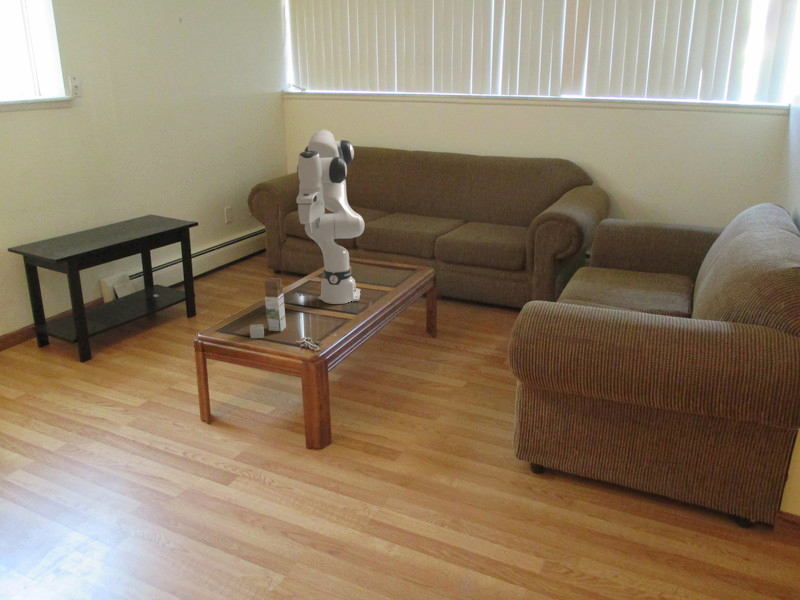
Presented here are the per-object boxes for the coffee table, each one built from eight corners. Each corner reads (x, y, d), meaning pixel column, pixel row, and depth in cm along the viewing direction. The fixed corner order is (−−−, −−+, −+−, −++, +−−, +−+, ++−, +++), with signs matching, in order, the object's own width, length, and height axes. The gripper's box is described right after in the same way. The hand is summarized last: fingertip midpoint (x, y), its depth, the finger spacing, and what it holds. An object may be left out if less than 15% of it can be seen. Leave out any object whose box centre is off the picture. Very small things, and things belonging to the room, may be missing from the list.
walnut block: (270, 292, 270) (269, 277, 269) (282, 292, 269) (281, 278, 268) (265, 296, 266) (264, 281, 264) (278, 296, 265) (276, 281, 263)
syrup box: (286, 327, 274) (283, 292, 270) (280, 332, 269) (278, 297, 264) (273, 326, 275) (270, 292, 271) (267, 331, 270) (264, 296, 265)
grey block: (251, 334, 268) (250, 324, 266) (264, 333, 268) (263, 323, 267) (250, 339, 263) (249, 329, 262) (263, 338, 264) (263, 328, 262)
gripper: (312, 190, 269) (314, 224, 274) (294, 199, 250) (297, 236, 255) (327, 190, 268) (329, 225, 272) (310, 200, 249) (313, 237, 254)
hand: (313, 230), depth 263 cm, fingers open, 8 cm apart
